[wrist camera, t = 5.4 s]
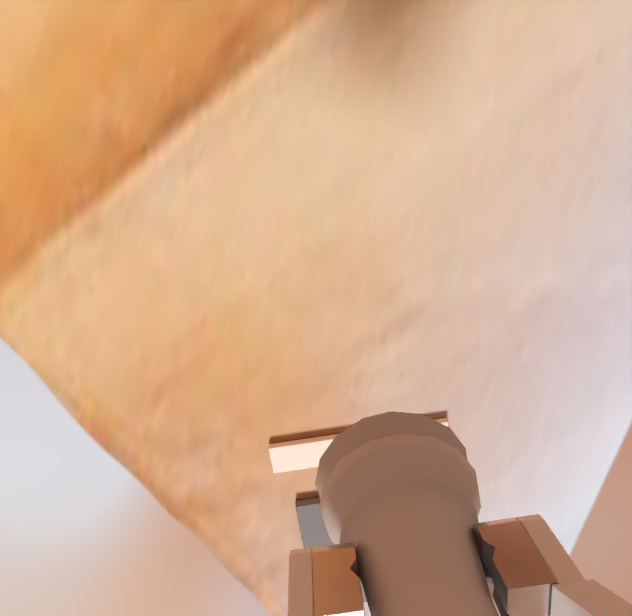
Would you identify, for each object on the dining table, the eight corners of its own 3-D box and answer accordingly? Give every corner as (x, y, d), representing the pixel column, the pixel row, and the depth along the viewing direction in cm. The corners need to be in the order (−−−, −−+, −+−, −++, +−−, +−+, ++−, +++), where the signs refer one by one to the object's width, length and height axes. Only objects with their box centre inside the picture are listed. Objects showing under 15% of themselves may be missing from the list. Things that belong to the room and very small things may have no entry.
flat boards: (269, 444, 28) (268, 449, 28) (445, 417, 28) (448, 422, 28) (303, 603, 33) (303, 610, 33) (454, 581, 33) (457, 588, 33)
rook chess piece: (432, 377, 12) (678, 774, 4) (482, 491, 13) (730, 940, 6) (288, 439, 12) (274, 894, 5) (351, 542, 14) (418, 1019, 6)
